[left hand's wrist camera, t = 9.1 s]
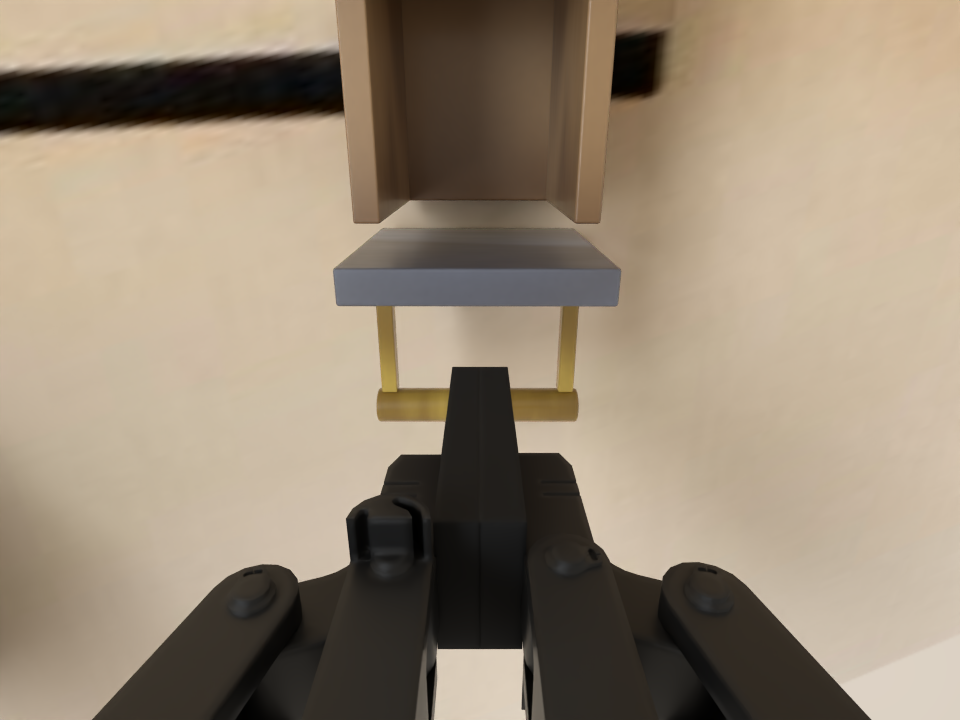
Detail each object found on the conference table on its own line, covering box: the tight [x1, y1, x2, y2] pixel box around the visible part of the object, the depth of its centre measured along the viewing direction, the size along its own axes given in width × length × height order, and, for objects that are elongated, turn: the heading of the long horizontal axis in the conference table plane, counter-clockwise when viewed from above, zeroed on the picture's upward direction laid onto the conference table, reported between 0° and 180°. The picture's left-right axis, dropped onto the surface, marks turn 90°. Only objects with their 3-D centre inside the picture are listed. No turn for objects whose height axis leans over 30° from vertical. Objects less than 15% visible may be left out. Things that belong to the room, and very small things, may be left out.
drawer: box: [333, 0, 621, 422], centre depth 18 cm, size 26×9×9 cm, turn 0°
